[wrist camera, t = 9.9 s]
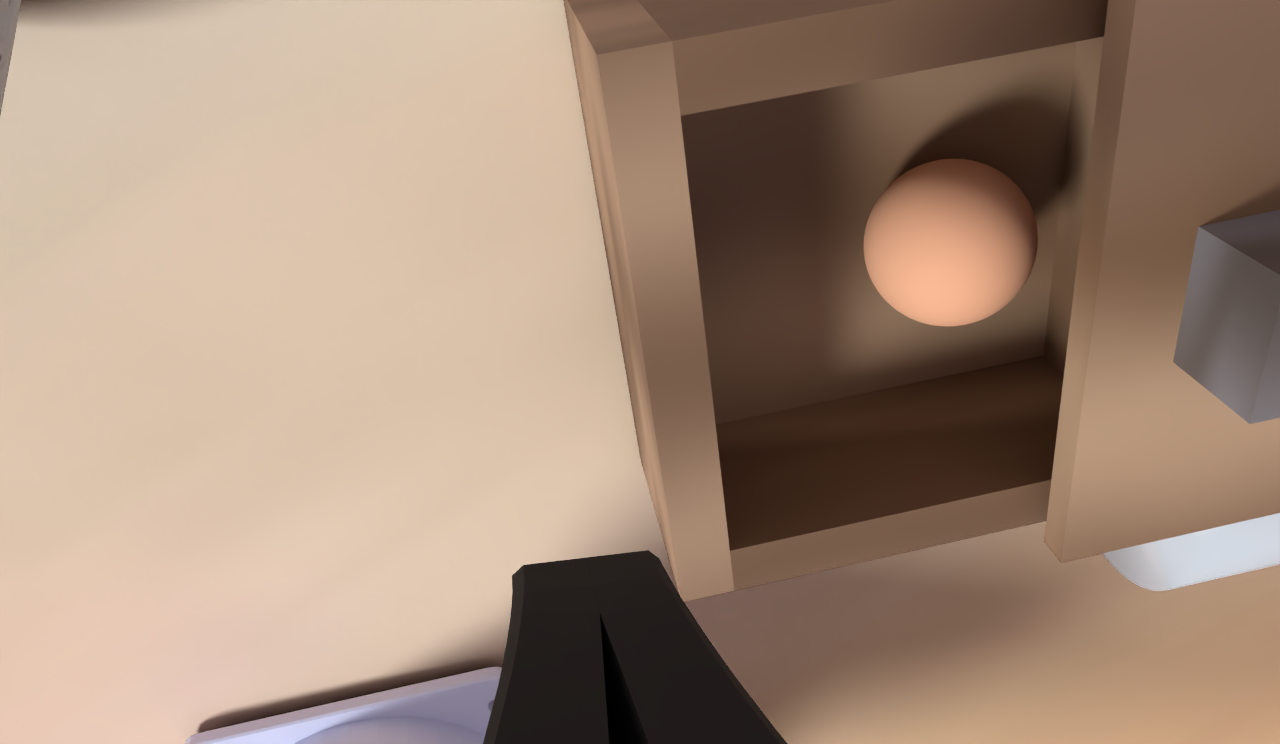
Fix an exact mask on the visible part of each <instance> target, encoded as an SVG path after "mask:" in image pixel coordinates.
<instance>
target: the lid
mask: <svg viewBox="0 0 1280 744" xmlns="http://www.w3.org/2000/svg"><path fill="white" fill-rule="evenodd" d="M1277 513H1280V0H1108V7H1107V16H1106V24H1105V33H1104V41H1103V49H1102V58H1101V66H1100V75H1099V83H1098V92H1097V100H1096V108H1095V117H1094V125H1093V134H1092V142H1091V151H1090V159H1089V167H1088V176H1087V184H1086V193H1085V201H1084V210H1083V218H1082V226H1081V235H1080V243H1079V252H1078V260H1077V269H1076V277H1075V285H1074V294H1073V302H1072V311H1071V319H1070V328H1069V336H1068V344H1067V353H1066V361H1065V370H1064V378H1063V387H1062V395H1061V403H1060V412H1059V420H1058V429H1057V437H1056V446H1055V454H1054V463H1053V471H1052V479H1051V488H1050V496H1049V505H1048V513H1047V522H1046V530H1045V538H1044V542H1045V543H1046V544H1047V545H1048V547H1049V548H1050V549H1051V551H1052V552H1053V553H1054V554H1055V556H1056V557H1057V558H1058V559H1059V561H1060V562H1061V563H1063V562H1067V561H1071V560H1076V559H1080V558H1084V557H1089V556H1093V555H1098V554H1102V553H1106V552H1111V551H1115V550H1119V549H1124V548H1128V547H1133V546H1137V545H1141V544H1146V543H1150V542H1155V541H1159V540H1163V539H1168V538H1172V537H1176V536H1181V535H1185V534H1190V533H1194V532H1198V531H1203V530H1207V529H1212V528H1216V527H1220V526H1225V525H1229V524H1233V523H1238V522H1242V521H1247V520H1251V519H1255V518H1260V517H1264V516H1269V515H1273V514H1277Z"/></svg>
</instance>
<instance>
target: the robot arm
mask: <svg viewBox="0 0 1280 744" xmlns="http://www.w3.org/2000/svg"><path fill="white" fill-rule="evenodd" d="M512 586H513V595H512V608H511V618H510V626H509V633H508V639H507V645H506V650H505V655H504V660H503V665H502V667H488V668H484V669H479V670H475V671H470V672H466V673H461V674H457V675H453V676H448V677H444V678H439V679H435V680H431V681H426V682H422V683H417V684H413V685H408V686H404V687H400V688H395V689H391V690H386V691H382V692H377V693H373V694H369V695H364V696H360V697H355V698H351V699H347V700H342V701H338V702H333V703H329V704H324V705H320V706H316V707H311V708H307V709H302V710H298V711H293V712H289V713H285V714H280V715H276V716H271V717H267V718H263V719H258V720H254V721H249V722H245V723H240V724H236V725H232V726H227V727H223V728H218V729H214V730H209V731H205V732H201V733H198V734H195V735H192V736H191V737H189V738H188V739H187V740H186V742H185V744H787V743H786V741H785V740H784V739H783V738H782V737H781V735H780V734H779V733H778V732H777V730H776V729H775V728H774V727H773V725H772V724H771V723H770V721H769V720H768V719H767V718H766V716H765V715H764V714H763V712H762V711H761V710H760V708H759V707H758V706H757V705H756V703H755V702H754V701H753V699H752V698H751V697H750V695H749V694H748V693H747V692H746V690H745V689H744V688H743V686H742V685H741V684H740V682H739V681H738V680H737V679H736V677H735V676H734V675H733V673H732V672H731V670H730V669H729V668H728V666H727V665H726V663H725V662H724V661H723V659H722V658H721V657H720V655H719V654H718V652H717V651H716V649H715V648H714V646H713V645H712V644H711V642H710V641H709V639H708V638H707V636H706V635H705V633H704V632H703V630H702V629H701V627H700V626H699V624H698V623H697V622H696V620H695V618H694V617H693V615H692V614H691V612H690V611H689V609H688V608H687V606H686V604H685V603H684V601H683V600H682V598H681V596H680V595H679V593H678V592H677V590H676V588H675V586H674V585H673V583H672V581H671V580H670V578H669V576H668V574H667V573H666V571H665V569H664V567H663V565H662V563H661V561H660V559H659V558H658V557H656V556H655V555H654V554H652V553H651V552H650V551H639V552H631V553H622V554H614V555H605V556H597V557H588V558H580V559H572V560H563V561H555V562H546V563H538V564H529V565H523V566H522V567H521V568H520V569H519V570H518V571H517V572H516V573H515V574H514V575H513V576H512Z"/></svg>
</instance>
